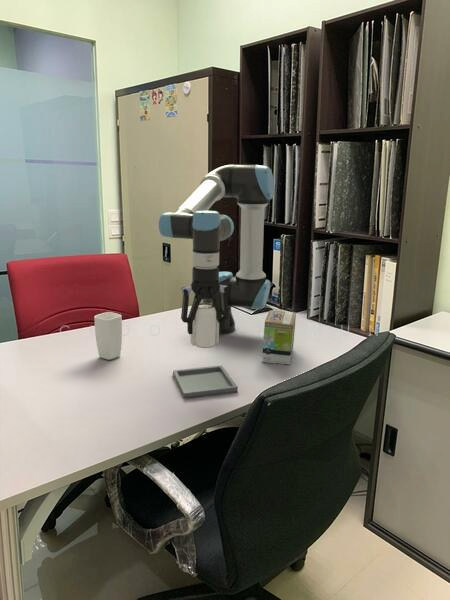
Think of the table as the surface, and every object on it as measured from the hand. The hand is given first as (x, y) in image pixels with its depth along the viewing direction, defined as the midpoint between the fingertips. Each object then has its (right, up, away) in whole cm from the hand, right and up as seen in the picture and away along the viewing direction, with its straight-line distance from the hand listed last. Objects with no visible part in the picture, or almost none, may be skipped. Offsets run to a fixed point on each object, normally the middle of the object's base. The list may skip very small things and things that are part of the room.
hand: (204, 342), depth 137 cm
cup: (-33, -7, +22) cm, 41 cm away
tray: (0, -13, +4) cm, 13 cm away
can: (0, -1, 0) cm, 1 cm away
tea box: (+25, -7, +27) cm, 37 cm away
